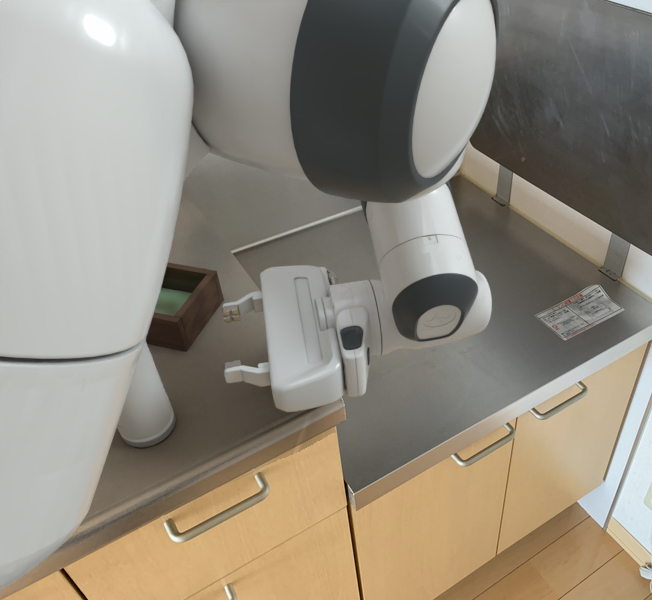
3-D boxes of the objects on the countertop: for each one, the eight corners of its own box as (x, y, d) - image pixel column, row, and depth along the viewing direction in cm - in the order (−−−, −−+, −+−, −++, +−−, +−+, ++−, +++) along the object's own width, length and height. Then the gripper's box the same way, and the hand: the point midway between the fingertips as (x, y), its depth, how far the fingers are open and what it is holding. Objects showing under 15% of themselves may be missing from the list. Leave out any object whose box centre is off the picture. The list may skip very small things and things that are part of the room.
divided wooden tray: (186, 351, 82) (176, 322, 79) (52, 324, 86) (37, 295, 83) (224, 299, 90) (216, 270, 87) (100, 276, 94) (88, 248, 91)
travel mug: (110, 447, 71) (43, 322, 58) (137, 402, 76) (81, 278, 63) (160, 454, 70) (104, 329, 57) (184, 409, 75) (138, 284, 62)
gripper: (332, 246, 75) (217, 262, 72) (363, 367, 60) (219, 392, 57) (336, 285, 79) (227, 302, 77) (366, 407, 64) (231, 432, 62)
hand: (223, 341), depth 67 cm, fingers open, 8 cm apart
